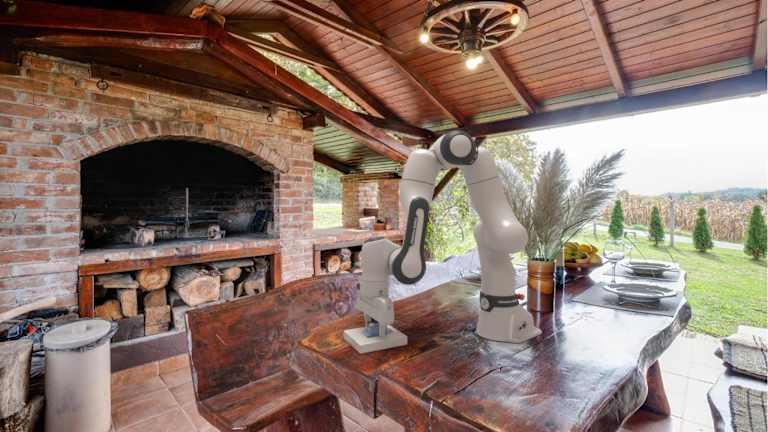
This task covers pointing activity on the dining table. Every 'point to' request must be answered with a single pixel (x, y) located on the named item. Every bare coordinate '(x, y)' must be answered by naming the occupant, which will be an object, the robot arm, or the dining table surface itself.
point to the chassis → (374, 340)
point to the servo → (373, 330)
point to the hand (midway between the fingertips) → (374, 330)
